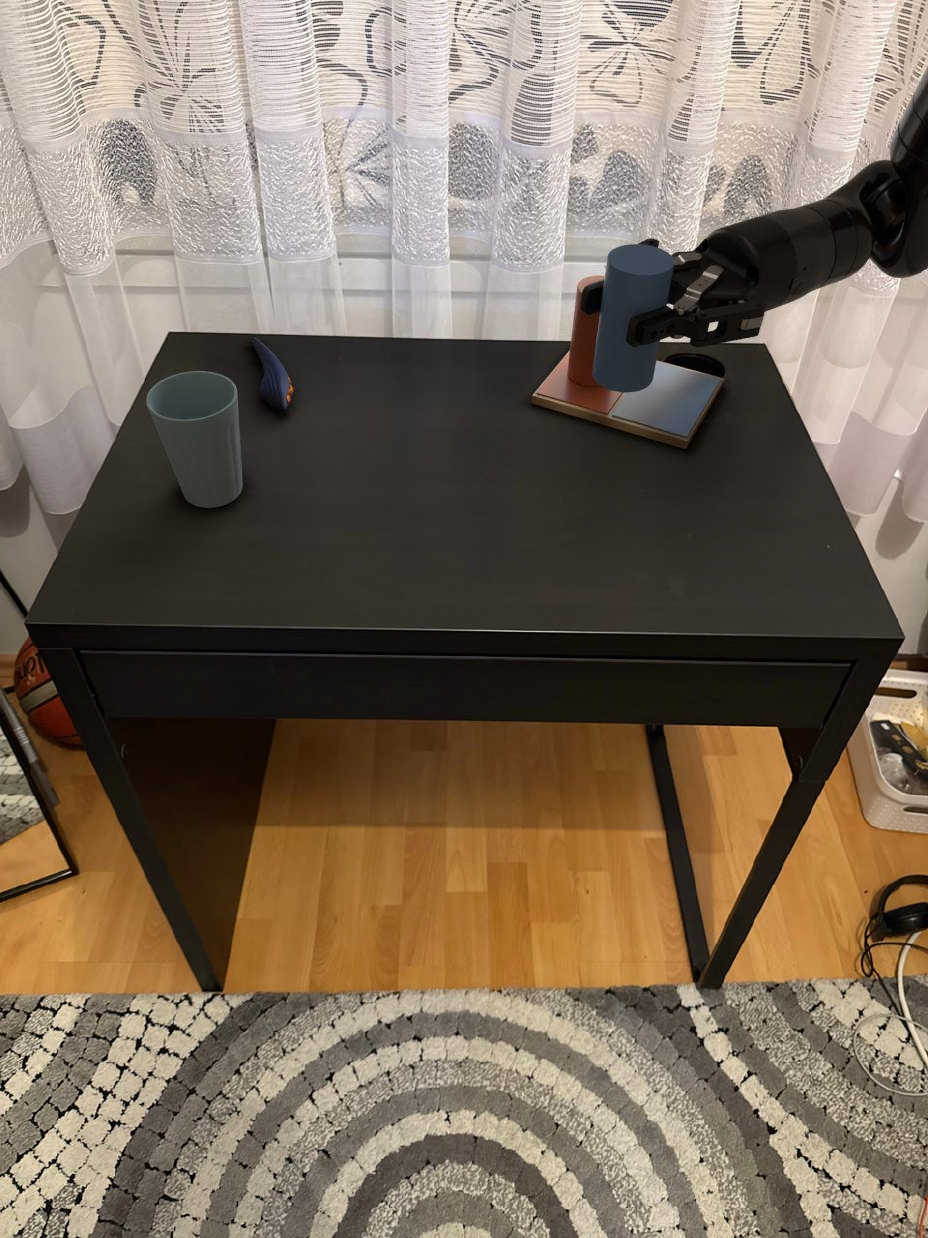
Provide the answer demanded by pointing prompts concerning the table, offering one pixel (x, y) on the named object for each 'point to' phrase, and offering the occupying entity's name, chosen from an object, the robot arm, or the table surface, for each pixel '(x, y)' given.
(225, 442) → the cup
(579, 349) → the rust canister
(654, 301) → the blue canister
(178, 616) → the table surface
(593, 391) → the board
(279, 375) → the tapered navy handle
